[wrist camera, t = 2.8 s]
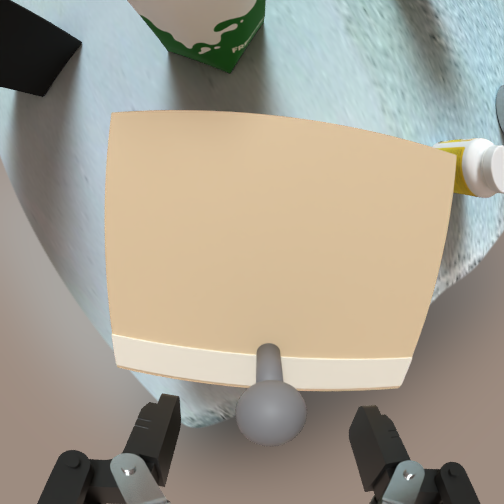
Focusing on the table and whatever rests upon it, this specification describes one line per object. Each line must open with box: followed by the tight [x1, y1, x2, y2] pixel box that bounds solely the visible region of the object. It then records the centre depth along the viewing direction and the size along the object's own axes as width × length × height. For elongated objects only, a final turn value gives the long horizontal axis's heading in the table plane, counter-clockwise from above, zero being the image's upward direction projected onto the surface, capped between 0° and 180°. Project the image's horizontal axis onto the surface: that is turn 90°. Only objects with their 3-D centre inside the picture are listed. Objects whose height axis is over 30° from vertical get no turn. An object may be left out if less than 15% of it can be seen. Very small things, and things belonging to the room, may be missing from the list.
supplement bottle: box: [432, 138, 504, 198], centre depth 21 cm, size 5×5×10 cm
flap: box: [105, 110, 457, 446], centre depth 13 cm, size 20×16×7 cm
